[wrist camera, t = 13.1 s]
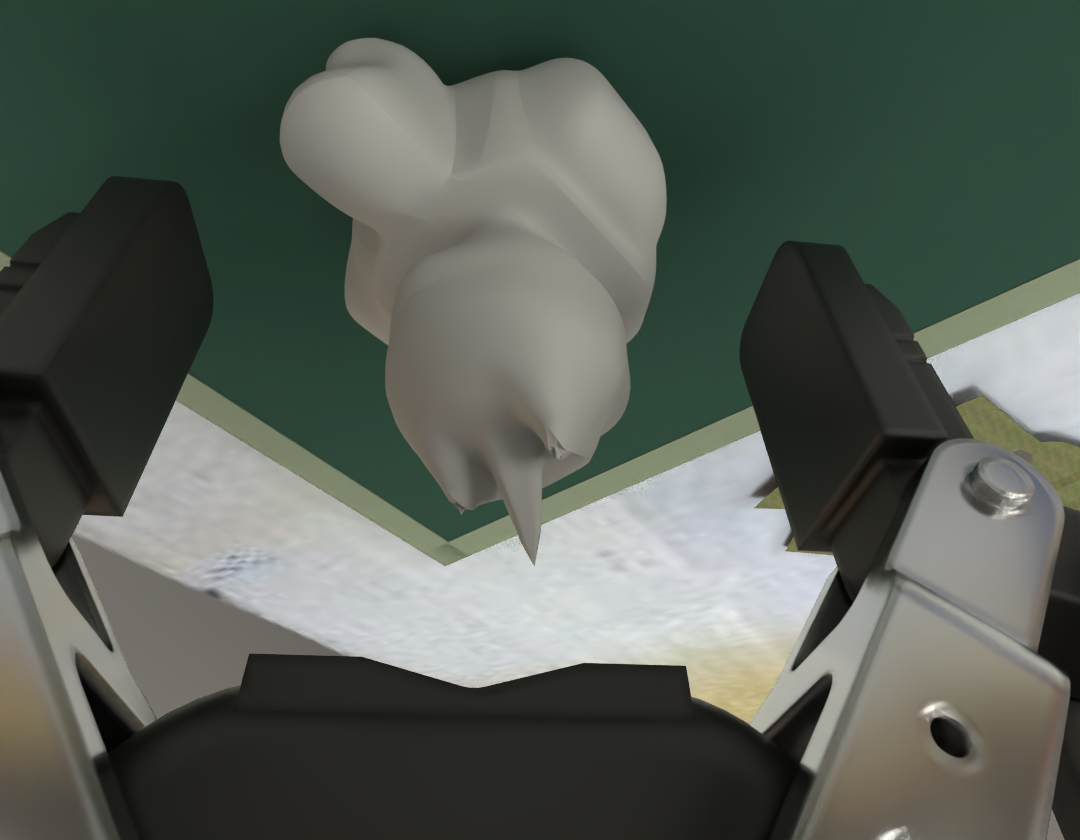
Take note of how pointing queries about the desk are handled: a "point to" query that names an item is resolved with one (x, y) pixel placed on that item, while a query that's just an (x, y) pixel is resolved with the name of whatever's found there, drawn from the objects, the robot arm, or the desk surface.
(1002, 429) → the map
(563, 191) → the grey rounded figure
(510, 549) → the desk surface
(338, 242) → the chalkboard
